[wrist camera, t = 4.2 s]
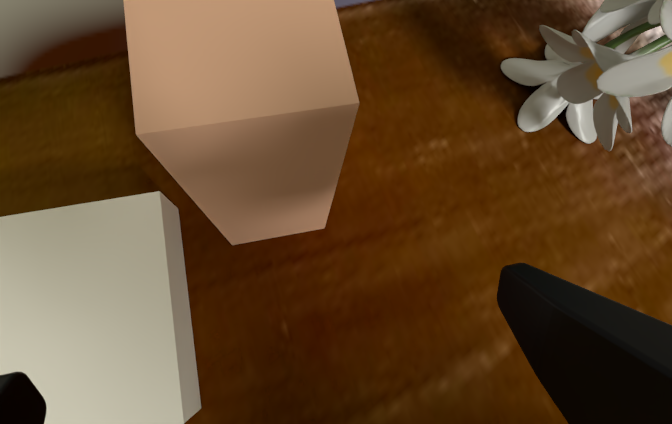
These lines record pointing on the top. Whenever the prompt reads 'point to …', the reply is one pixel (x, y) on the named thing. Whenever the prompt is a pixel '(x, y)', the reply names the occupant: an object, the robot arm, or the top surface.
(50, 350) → the block
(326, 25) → the terracotta block
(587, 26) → the flower vase
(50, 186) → the top surface
